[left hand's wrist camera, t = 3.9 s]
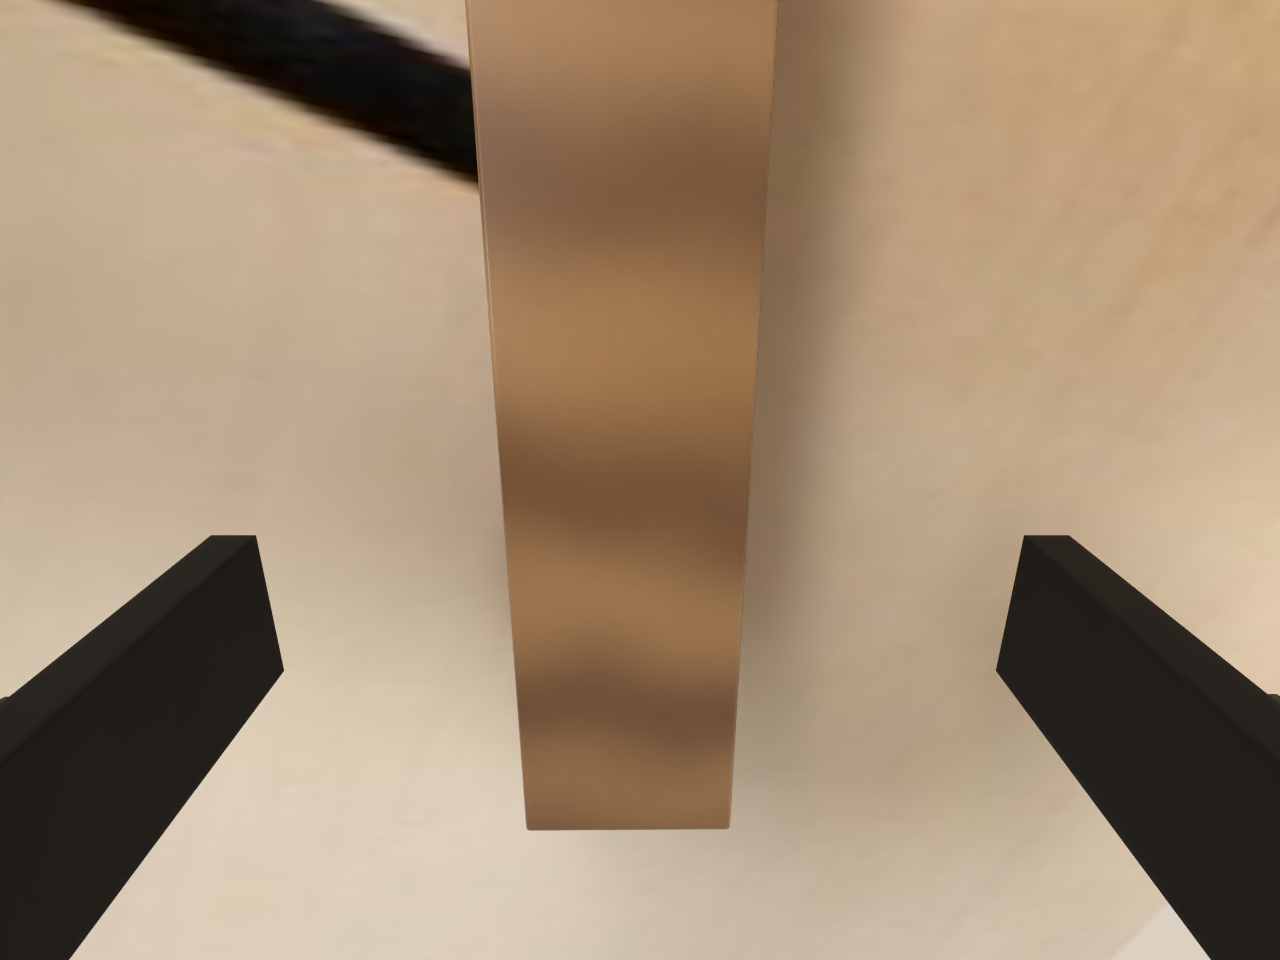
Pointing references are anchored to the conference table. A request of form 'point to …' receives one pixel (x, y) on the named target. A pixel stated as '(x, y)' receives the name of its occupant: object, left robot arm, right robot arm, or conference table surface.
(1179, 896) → the left robot arm
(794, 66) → the conference table surface
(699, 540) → the bar
